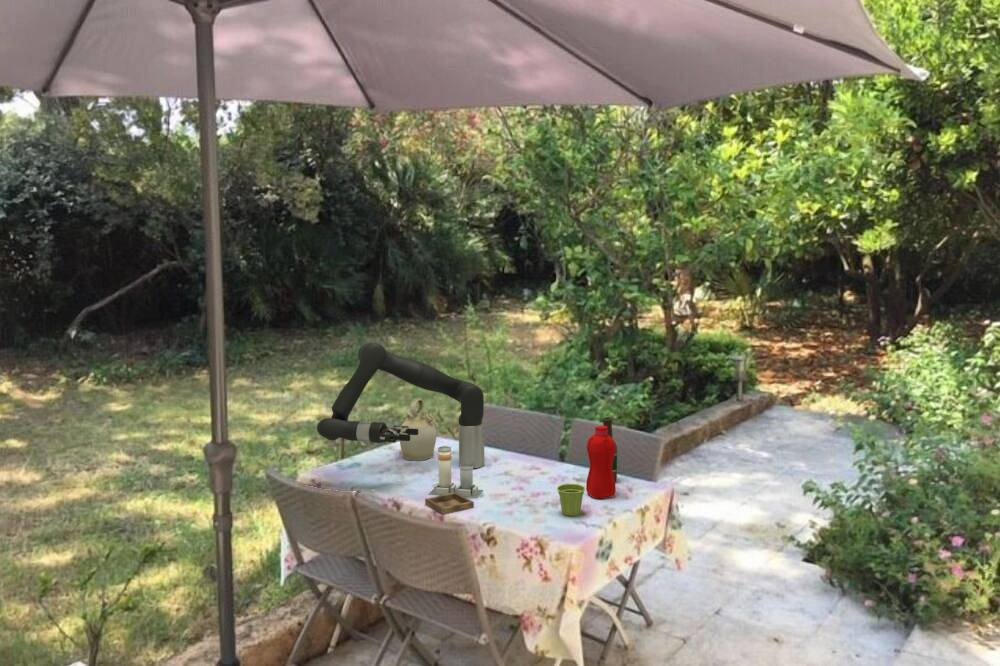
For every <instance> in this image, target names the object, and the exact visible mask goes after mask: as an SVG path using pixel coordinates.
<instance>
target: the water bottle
mask: <svg viewBox="0 0 1000 666" xmlns="http://www.w3.org/2000/svg"><path fill="white" fill-rule="evenodd" d="M607 434H608V427H607V426H603V425H598V426H594V434H593V435H591V436H590V437H588V439H587V444H586V453H587V455H588V460H589V469H588V474H587V479H586V483H585V484H586V487H585V491H586V493H587V494H588V495H589V496H590V497H592V498H594V499H597V500H602V499H608V497H609V498H612V497H614V496H615V495H616V491H617V489H616V483H615V480H614V475H613V470H612V463H613V459H614V456H615V451H616V446H617V445H616V446H615V443H616V441H615V439H614V438H612V437H610V436H609V435H607ZM601 498H602V499H601Z"/></svg>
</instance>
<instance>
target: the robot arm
mask: <svg viewBox="0 0 1000 666" xmlns="http://www.w3.org/2000/svg"><path fill="white" fill-rule="evenodd" d="M357 357H358V360H359V364H358V367H357V368H356V370H355V372H354V374H352V376H351V377H350V379H349V380H348V381H347V383H346V384H345V385H344V386H343V388H342V389H341V391H340V392H339V394H338V396H337V397H336V399H335V401H334V402H333V404H332V406H331V411H332V415H331V417H330V418H329V417H326V418H322V419H321V420H320V421H318V423H317V426H316V430H317V433H318V434H319V436H321V437H323V438H324V439H326V440H329V441H331V442H333V441H336V440H338V439H339V438H340V439H344V440H345V441H346V440H347V441H353V442H362V443H370V444H371V443H373V444H384V443H386V442H387V443H396V442H400V441H410V435H418V434H419V432H418V429H412V428H409V426H402V425H393V426H389V427H388V426H387V423H385V422H384V421H383V422H382V421H381V422H379V421H367V420H365V421H357V420H356V421H354V420H353V421H351V420H348V419H349V415H350V414H351V413H352V411H353V409H354V408H355V405H356V404H357V401H358V400H359V398H360V397H361V394H362V393H363V392H364V390H365V389H366V386H367V385H368V383H369V382H370V380H371V379H372V378H373V376H374V375H375V373H377V372H378V370H380V371H383V372H384V373H385V372H386V373H388V374H390V375H393V376H395V377H396V378H398V379H400V380H402V381H404V382H406V383H408V384H410V385H412V386H414V387H417V388H420V389H423V390H425V391H430V392H434V393H440V394H442V395H445V396H448V397H449V398H451V399H453V400H455V401H456V402H458V403H460V416H459V417H458V456H459V457H458V459H459V461H458V462H459V466H458V467H460V465H462V464H471V465H473V468H477V469H480V468H482V467H483V465H485V463H486V462H485V460H486V459H485V441H483V417H484V408H485V407H484V406H485V405H484V403H485V401H484V399H485V398H484V397H485V396H484V392H483V390H482V389H481V388H480V386H478V385H477V384H474V383H473V382H469V381H465V380H461V379H458V378H456V377H453V376H451V375H448V374H446V373H445V372H443V371H441V370H439V369H437V368H435V367H434V366H431V365H428V364H426V363H424V362H421V361H419V360H415V359H412V358H408V357H404V356H400V355H397V354H394V353H392V352H390V351H389V350H386V348H385V347H384V345H382V344H381V343H377V342H367V343H365V344H363V345H362V346H360V347H359V349H358V352H357ZM403 430H405V431H403ZM481 466H482V467H481ZM485 466H486V465H485ZM479 467H480V468H479Z"/></svg>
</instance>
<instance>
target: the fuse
mask: <svg viewBox="0 0 1000 666" xmlns="http://www.w3.org/2000/svg"><path fill="white" fill-rule="evenodd" d="M473 471H474V469H473V465H471V464H462V465H460V466H459V477H460V478H459V479H460V480H459V483H460V484H459V485H460V489H466V490H471V494H472V489H473V484H474V483H473V482H474V481H473V480H474V479H473V476H474V475H473Z"/></svg>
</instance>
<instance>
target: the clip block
mask: <svg viewBox="0 0 1000 666" xmlns="http://www.w3.org/2000/svg"><path fill="white" fill-rule="evenodd" d="M450 491H451V492H450V493H455V492H456V493H458V494H460V495H462V496H464V497H465V498H467V499H478V498H479V497H480V495H481V494H482V493H483V491H484V489H479V486H478V485H476V484H475V483H473V489H472V494H471V490H466V489H460V484H458V485H457V484H455V482H451V488H450ZM450 493H449V488H439V482H438V483H437V482H436V484H435V485H434V486H433V489H432V490H431V491H430V492H429V493H428V494H427V495H428V496H441V495H445V494H450Z"/></svg>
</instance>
